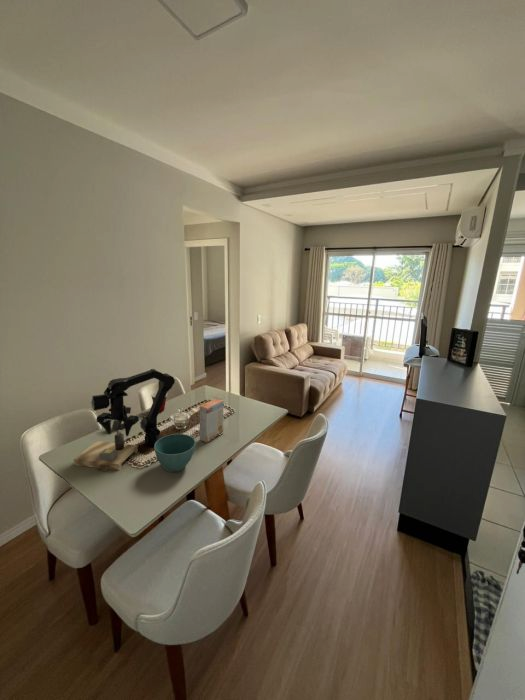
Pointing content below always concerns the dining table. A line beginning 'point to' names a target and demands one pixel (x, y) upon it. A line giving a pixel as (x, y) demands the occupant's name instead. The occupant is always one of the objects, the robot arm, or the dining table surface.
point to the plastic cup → (163, 401)
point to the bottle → (119, 440)
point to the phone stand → (119, 424)
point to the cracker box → (211, 419)
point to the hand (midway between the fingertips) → (118, 434)
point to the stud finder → (108, 454)
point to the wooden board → (93, 460)
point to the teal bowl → (174, 451)
